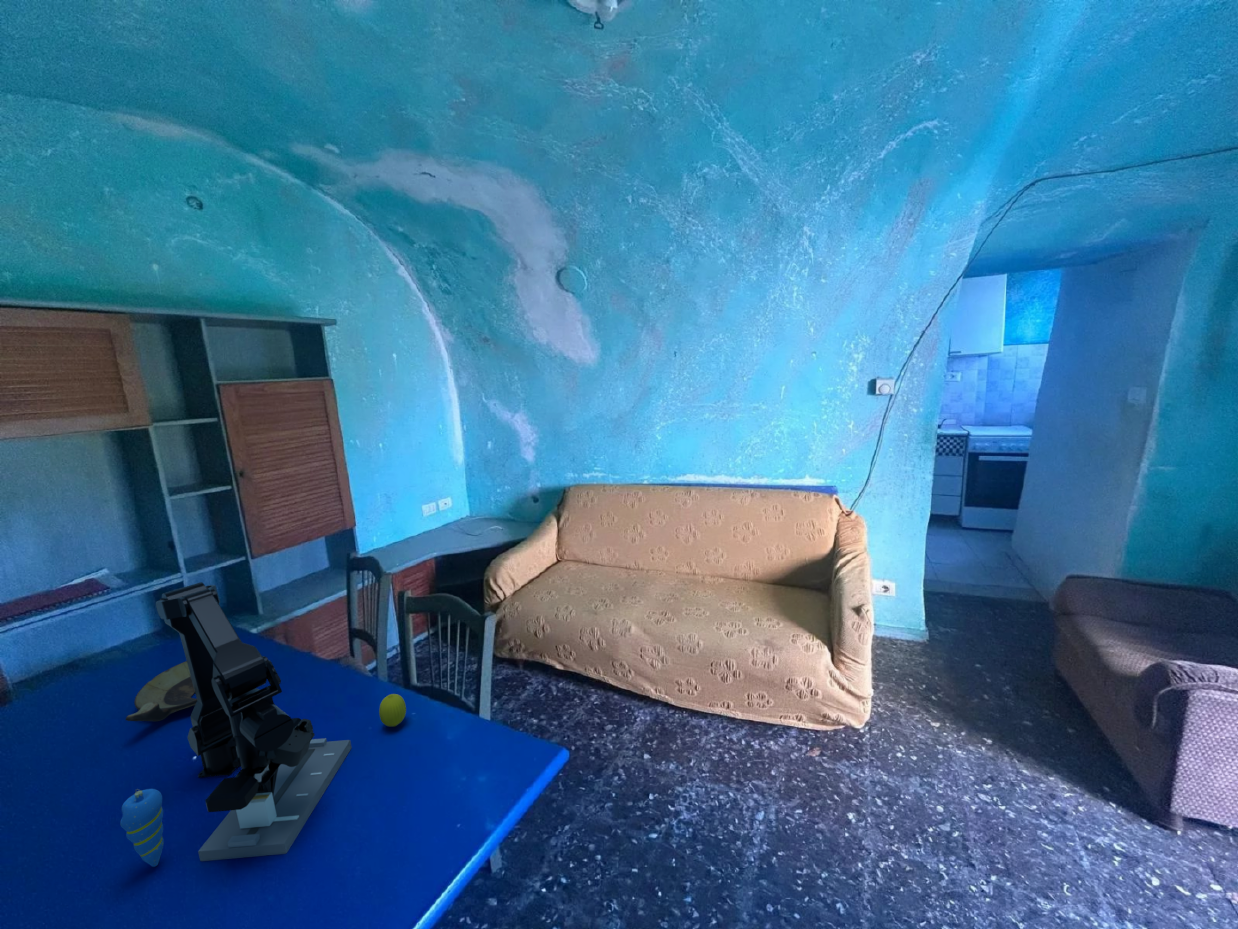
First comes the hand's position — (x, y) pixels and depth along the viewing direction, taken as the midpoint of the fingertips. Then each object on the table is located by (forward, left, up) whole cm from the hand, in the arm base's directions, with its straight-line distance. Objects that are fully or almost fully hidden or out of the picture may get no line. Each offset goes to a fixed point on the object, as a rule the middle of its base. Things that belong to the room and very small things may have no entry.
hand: (268, 800), depth 92 cm
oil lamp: (-44, +38, -4) cm, 58 cm away
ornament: (-14, -8, -4) cm, 16 cm away
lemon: (+14, +22, -4) cm, 27 cm away
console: (0, +4, -4) cm, 5 cm away
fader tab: (0, -3, -1) cm, 3 cm away
